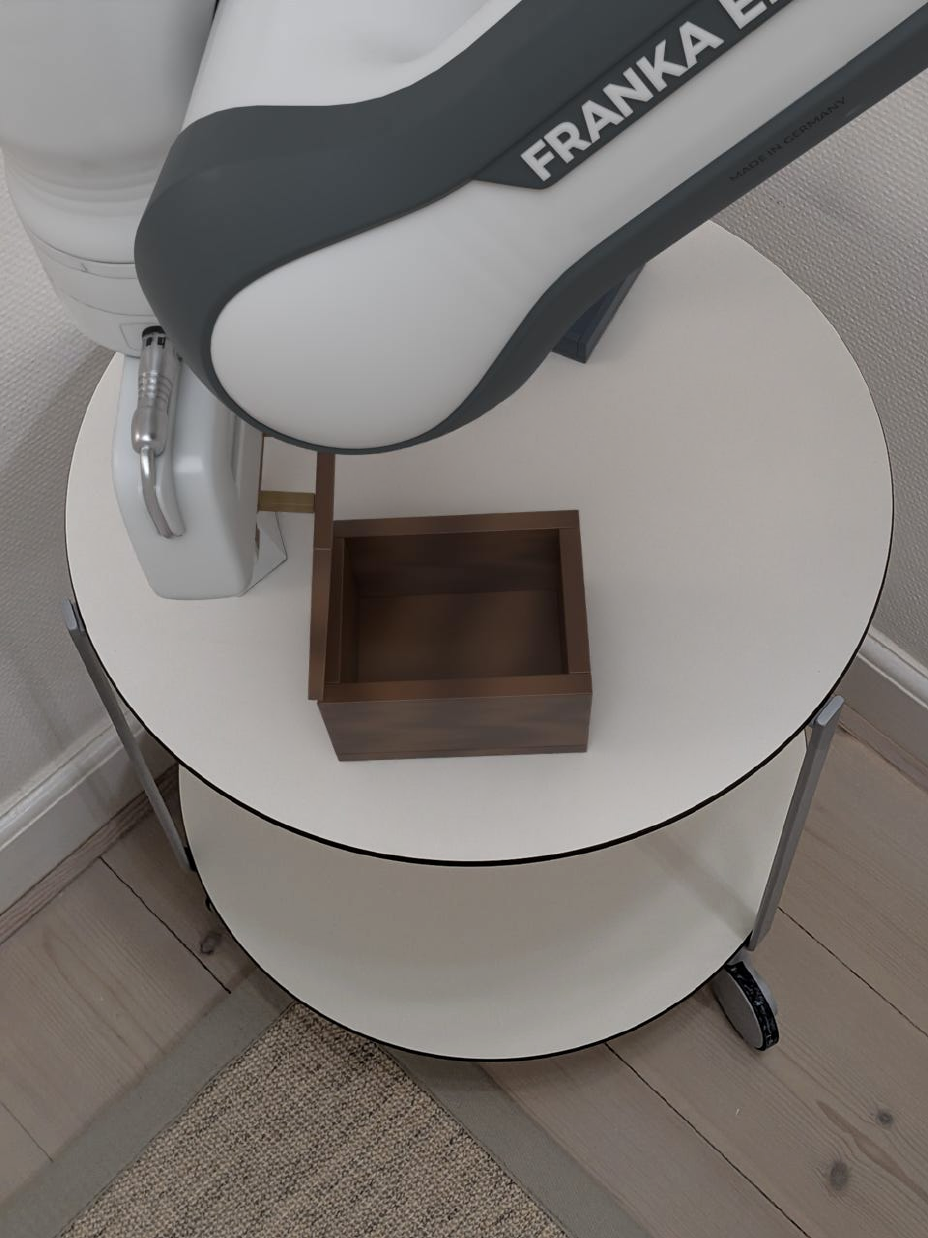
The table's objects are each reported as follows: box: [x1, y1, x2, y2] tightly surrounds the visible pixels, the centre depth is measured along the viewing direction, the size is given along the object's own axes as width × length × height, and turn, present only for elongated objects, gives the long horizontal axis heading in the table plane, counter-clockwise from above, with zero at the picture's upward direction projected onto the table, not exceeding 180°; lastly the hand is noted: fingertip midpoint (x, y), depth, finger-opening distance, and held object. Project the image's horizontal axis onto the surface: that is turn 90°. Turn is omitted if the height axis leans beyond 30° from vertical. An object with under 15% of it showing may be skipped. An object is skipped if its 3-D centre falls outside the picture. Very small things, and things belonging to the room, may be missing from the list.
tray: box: [551, 264, 646, 364], centre depth 87 cm, size 11×10×2 cm
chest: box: [316, 509, 593, 762], centre depth 71 cm, size 14×11×8 cm
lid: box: [257, 432, 337, 701], centre depth 60 cm, size 15×11×5 cm
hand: (247, 461), depth 55 cm, fingers open, 8 cm apart
